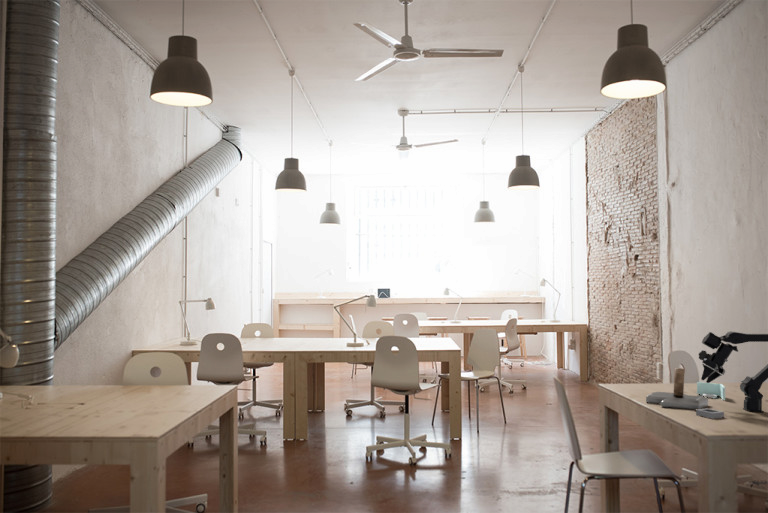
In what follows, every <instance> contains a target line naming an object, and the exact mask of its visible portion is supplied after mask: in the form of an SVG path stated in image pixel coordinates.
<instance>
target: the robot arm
mask: <svg viewBox="0 0 768 513" xmlns="http://www.w3.org/2000/svg"><path fill="white" fill-rule="evenodd" d="M749 342H751V343H752V342H755V343H756V342H757V343H758V342H759V343H760V342H761V343H764V342H765V343H766V342H768V333H743V332H737V331H727V333H725V335H721V336H718V335H716V334H715V333H714V332H711V331H709V332H708V333H707V334H706V335H705V336H704V337H703V338H702V340H701V343H702V344H703V345H705V346H706V347H708V348H710V349H712V350H715V349H716V351H715V352H713V353H712V354H711V353H707V351H706V350H701V351H699V353H698V359H699V360H700V361H702V362H701V363H702V364H701V365H702V367H703V371H702V374H701V378H700V379H701V381H705V380H706V381H705V383H712V382H713V381H714V380H716V379H718V378H721V376H724V375H725V373H726V370H725V368H724V365H725V363H726V362H728V359H729V357H730V355H731V354H732V352H733V351H734V352H739V350H738V346H737V345H738V344H745V343H749ZM732 344H733V345H732ZM766 380H768V364H766V365H765V366H764V367H763V368H762V369H761V370H760V371H759V372H757V373H756V374H755V375H753V376H751V377H750V376H746V377H745V378H744V379H743V380H741V381H740V382H741V383H740V385H739V389H740V391H741V392H742V393H743V394H744V400H743V408H742V410H745V409H746V410H745V411H747V410H748V412H750V411H761V412H760V413H764V412H765V410H762V409H763V407H762V406H763V397H764V395H763V394H762V393H761V392H760V390H761V387H762V385H763V384H764V383H765V382H766Z"/></svg>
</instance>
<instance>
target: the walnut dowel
mask: <svg viewBox="0 0 768 513" xmlns="http://www.w3.org/2000/svg"><path fill="white" fill-rule="evenodd" d="M673 378H674V379H673V393H674V395H678V396H683V394H684V392H685V391H684V390H685V388H684V387H685V368H683V367H682V368H681V367H674V377H673Z"/></svg>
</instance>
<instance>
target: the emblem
mask: <svg viewBox="0 0 768 513" xmlns="http://www.w3.org/2000/svg"><path fill="white" fill-rule="evenodd" d="M646 402H648V403H647V404H652V403H660V404H659V406H661V407H663V408H668V407H673V408H672V409H682V408H683V409H685V410H695V409H701V408H702V409H704V408H703V407H705V406H706V407H708V406H709V398H705V397H703V395H692V394H691V395H689V394H686V393H685V394H684V393H683V396H678V395H674V392H666V391H664V392H663V391H656V392H651V393H649V394H648V395H646V396H645V403H646ZM707 405H708V406H707ZM706 407H705V408H706ZM683 409H682V410H683Z"/></svg>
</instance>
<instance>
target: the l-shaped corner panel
mask: <svg viewBox="0 0 768 513" xmlns="http://www.w3.org/2000/svg"><path fill="white" fill-rule="evenodd" d="M697 394H700V395H699V396H704V397H708V398H707V399H711V398H713V399H717V398H718V397H717V396H720V397H721V398H722V399H723V400H725V401H726V387H725V385H723V383H715V382H714V383H713V382H710V383H707V382H704V381H702V382H701V381H697V382H696V395H697ZM720 397H719V398H720ZM721 398H720V399H721ZM722 399H721V400H722ZM723 400H722V401H723Z"/></svg>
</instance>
